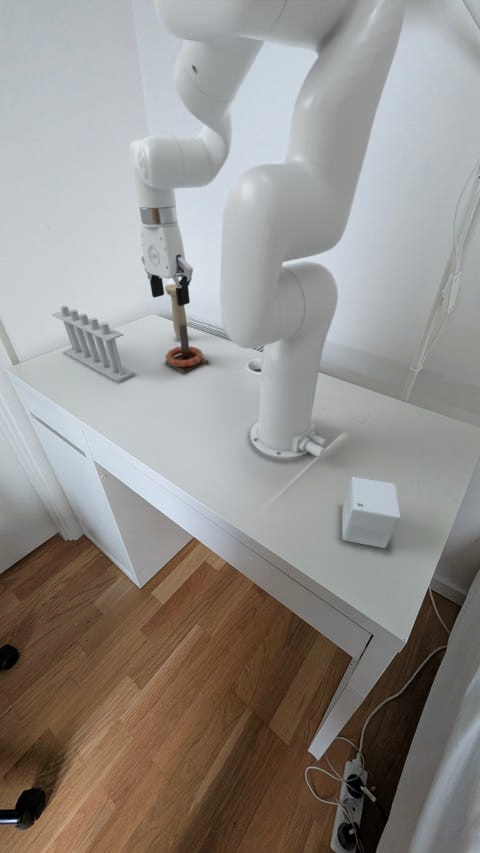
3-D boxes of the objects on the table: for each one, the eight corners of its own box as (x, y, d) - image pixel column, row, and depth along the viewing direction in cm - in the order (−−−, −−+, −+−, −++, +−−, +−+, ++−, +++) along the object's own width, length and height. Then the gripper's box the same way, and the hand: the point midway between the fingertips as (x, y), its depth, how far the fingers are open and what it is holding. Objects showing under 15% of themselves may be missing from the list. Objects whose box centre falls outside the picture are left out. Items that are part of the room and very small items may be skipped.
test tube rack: (133, 375, 85) (121, 324, 76) (118, 382, 82) (104, 330, 74) (79, 347, 97) (64, 301, 89) (65, 353, 94) (48, 305, 86)
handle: (182, 344, 98) (176, 292, 89) (168, 338, 102) (161, 287, 92) (195, 339, 101) (190, 287, 92) (181, 333, 104) (175, 283, 95)
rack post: (208, 363, 90) (205, 323, 83) (185, 374, 85) (180, 333, 78) (188, 354, 94) (184, 315, 87) (165, 364, 89) (159, 324, 82)
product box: (386, 550, 47) (401, 518, 43) (341, 541, 48) (351, 509, 44) (382, 515, 52) (396, 483, 47) (341, 507, 53) (351, 475, 48)
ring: (210, 358, 89) (210, 352, 88) (182, 372, 84) (181, 365, 83) (186, 348, 94) (186, 342, 93) (159, 360, 89) (157, 353, 88)
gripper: (121, 215, 73) (137, 296, 84) (170, 222, 64) (181, 312, 74) (149, 212, 77) (161, 289, 88) (200, 218, 68) (206, 303, 79)
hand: (170, 300), depth 81 cm, fingers open, 9 cm apart
